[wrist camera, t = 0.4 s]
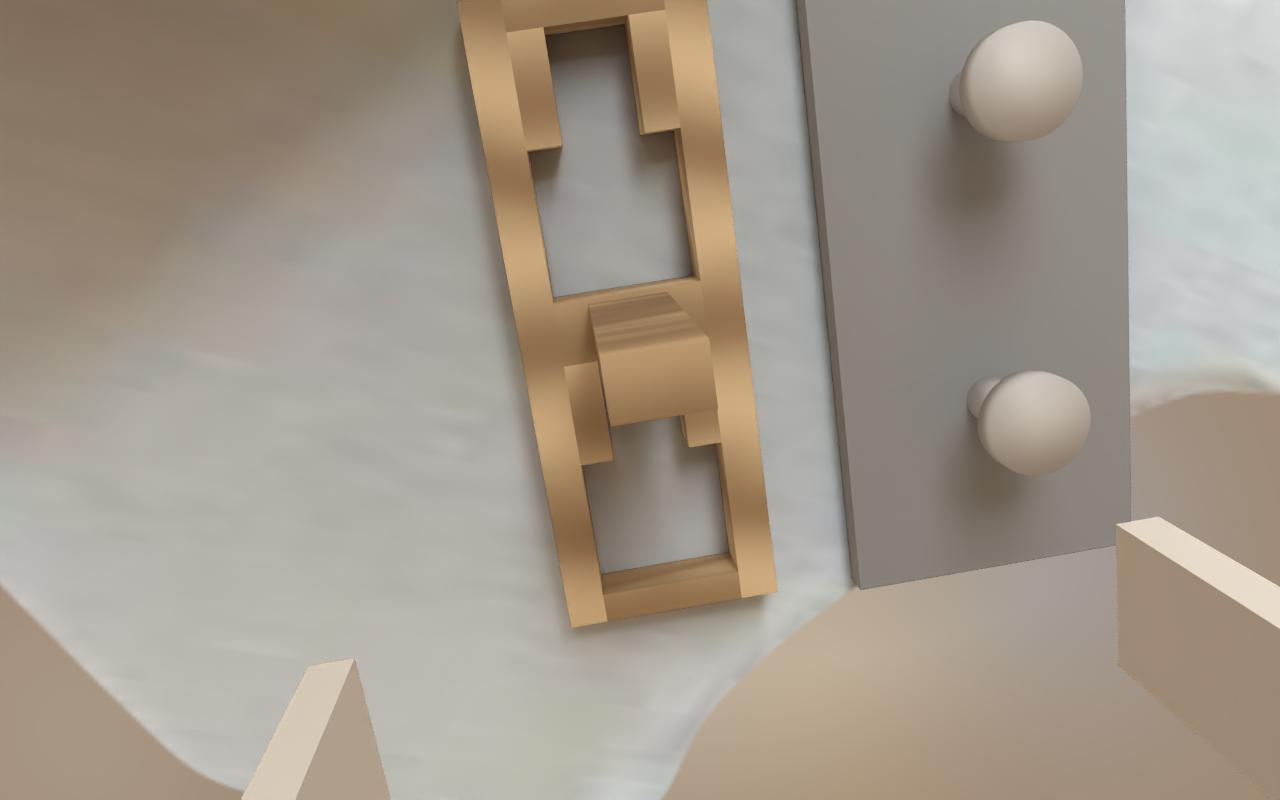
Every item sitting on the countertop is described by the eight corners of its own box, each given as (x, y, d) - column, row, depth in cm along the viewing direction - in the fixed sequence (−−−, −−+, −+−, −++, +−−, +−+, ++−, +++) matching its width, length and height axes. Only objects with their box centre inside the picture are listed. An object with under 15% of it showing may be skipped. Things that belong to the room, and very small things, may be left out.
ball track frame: (462, 11, 33) (410, -76, 22) (694, -22, 34) (765, -124, 22) (570, 605, 39) (575, 787, 28) (766, 571, 40) (851, 736, 28)
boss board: (787, -95, 33) (829, -145, 28) (1103, -139, 34) (1202, -197, 29) (851, 578, 40) (895, 638, 35) (1115, 531, 41) (1196, 584, 35)
